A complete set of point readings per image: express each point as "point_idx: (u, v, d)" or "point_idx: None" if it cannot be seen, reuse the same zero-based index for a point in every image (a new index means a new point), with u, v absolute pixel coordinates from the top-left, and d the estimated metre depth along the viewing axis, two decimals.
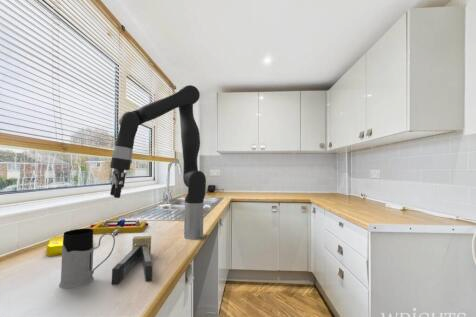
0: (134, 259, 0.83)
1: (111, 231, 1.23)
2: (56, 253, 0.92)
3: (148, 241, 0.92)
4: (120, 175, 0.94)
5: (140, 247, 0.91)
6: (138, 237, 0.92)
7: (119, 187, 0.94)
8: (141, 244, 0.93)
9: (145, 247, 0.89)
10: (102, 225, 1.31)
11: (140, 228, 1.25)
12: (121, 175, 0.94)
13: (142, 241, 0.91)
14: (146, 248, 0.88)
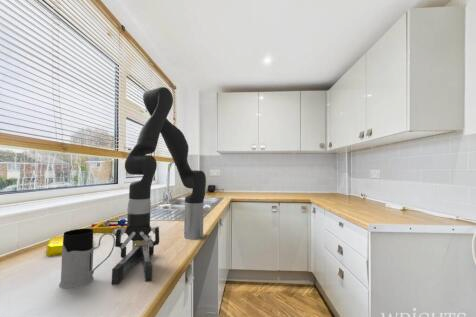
0: (134, 259, 0.83)
1: (111, 231, 1.23)
2: (56, 253, 0.92)
3: None
4: (158, 231, 0.85)
5: (140, 247, 0.91)
6: None
7: None
8: (141, 244, 0.93)
9: (145, 247, 0.89)
10: (103, 225, 1.32)
11: None
12: (158, 230, 0.85)
13: (142, 241, 0.91)
14: (146, 248, 0.88)
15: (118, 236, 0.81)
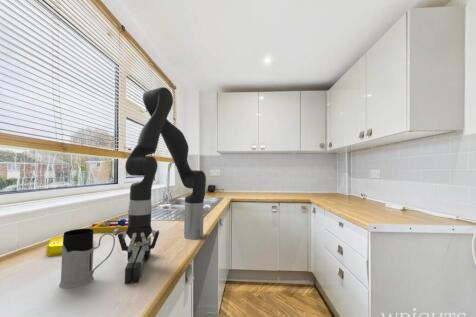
0: None
1: (111, 230, 1.24)
2: (56, 253, 0.92)
3: (148, 241, 0.92)
4: None
5: (140, 247, 0.91)
6: None
7: None
8: (141, 244, 0.93)
9: (144, 247, 0.89)
10: (103, 224, 1.33)
11: None
12: None
13: None
14: (144, 248, 0.88)
15: (121, 240, 0.81)
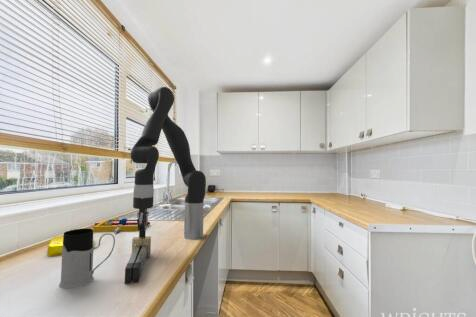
0: None
1: (113, 229, 1.26)
2: (57, 253, 0.92)
3: (148, 242, 0.91)
4: None
5: (140, 247, 0.91)
6: (138, 238, 0.91)
7: None
8: (141, 244, 0.93)
9: (144, 247, 0.89)
10: (105, 223, 1.35)
11: None
12: None
13: (142, 242, 0.90)
14: (144, 248, 0.88)
15: (144, 222, 0.91)
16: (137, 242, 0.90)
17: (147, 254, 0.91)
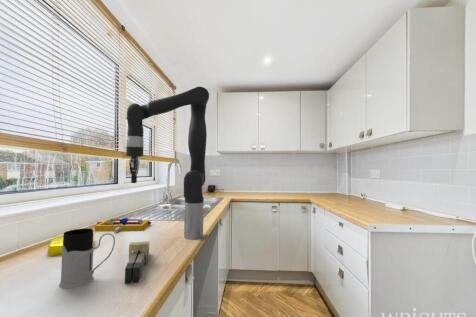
0: None
1: (113, 229, 1.27)
2: (58, 253, 0.92)
3: (146, 247, 0.84)
4: None
5: None
6: (135, 243, 0.85)
7: None
8: None
9: None
10: (107, 223, 1.37)
11: (140, 227, 1.28)
12: None
13: (139, 247, 0.84)
14: None
15: (135, 167, 1.09)
16: (134, 248, 0.84)
17: None
